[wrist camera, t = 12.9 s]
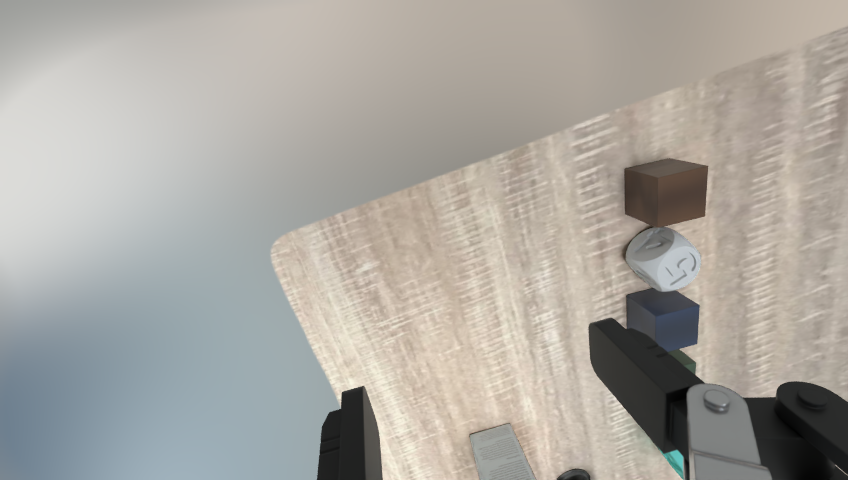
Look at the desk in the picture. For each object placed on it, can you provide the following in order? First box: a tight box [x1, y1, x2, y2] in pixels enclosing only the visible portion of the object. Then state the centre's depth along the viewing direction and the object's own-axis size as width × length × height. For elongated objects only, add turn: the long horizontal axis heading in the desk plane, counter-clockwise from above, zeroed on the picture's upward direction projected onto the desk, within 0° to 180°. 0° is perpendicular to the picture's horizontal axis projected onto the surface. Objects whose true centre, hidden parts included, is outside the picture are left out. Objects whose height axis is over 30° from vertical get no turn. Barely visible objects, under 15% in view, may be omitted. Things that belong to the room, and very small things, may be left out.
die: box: [626, 227, 701, 292], centre depth 43 cm, size 5×5×5 cm
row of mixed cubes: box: [625, 158, 708, 374], centre depth 44 cm, size 28×5×5 cm, turn 11°
